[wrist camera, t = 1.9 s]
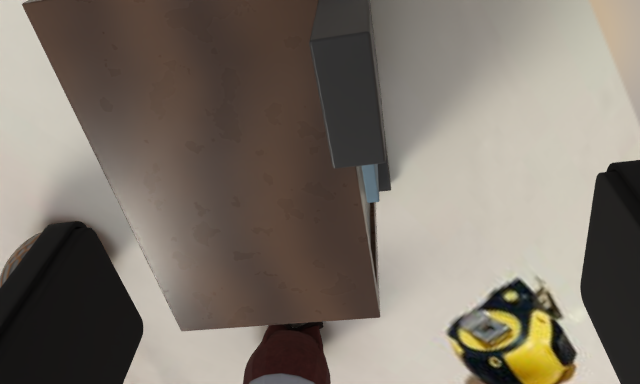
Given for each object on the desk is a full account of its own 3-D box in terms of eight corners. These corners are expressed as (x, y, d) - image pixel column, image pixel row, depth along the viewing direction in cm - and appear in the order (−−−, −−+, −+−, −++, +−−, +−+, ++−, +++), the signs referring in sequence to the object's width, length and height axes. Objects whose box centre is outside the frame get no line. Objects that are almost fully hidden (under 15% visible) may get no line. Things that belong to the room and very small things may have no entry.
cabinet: (356, -104, 27) (354, -55, 17) (390, 184, 37) (401, 316, 28) (135, -62, 29) (20, 3, 19) (225, 201, 39) (180, 331, 29)
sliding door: (364, -87, 26) (369, 19, 13) (382, 75, 31) (398, 269, 18) (332, -81, 27) (306, 29, 13) (355, 78, 32) (352, 273, 18)
